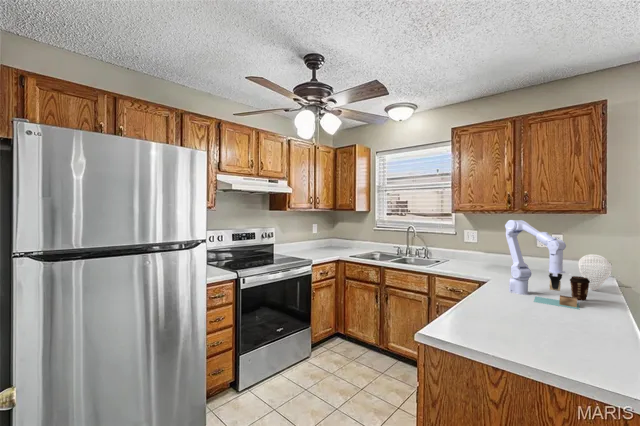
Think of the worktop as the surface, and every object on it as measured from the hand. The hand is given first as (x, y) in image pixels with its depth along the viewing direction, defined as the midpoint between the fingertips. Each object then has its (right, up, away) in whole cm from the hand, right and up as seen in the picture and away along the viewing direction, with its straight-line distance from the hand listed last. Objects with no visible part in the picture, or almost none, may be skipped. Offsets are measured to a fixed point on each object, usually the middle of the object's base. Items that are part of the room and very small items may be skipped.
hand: (555, 287), depth 166 cm
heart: (+49, -10, +32) cm, 59 cm away
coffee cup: (+19, -9, +8) cm, 23 cm away
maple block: (0, -1, 0) cm, 1 cm away
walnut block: (+4, -8, -3) cm, 10 cm away
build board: (0, -9, 0) cm, 9 cm away
